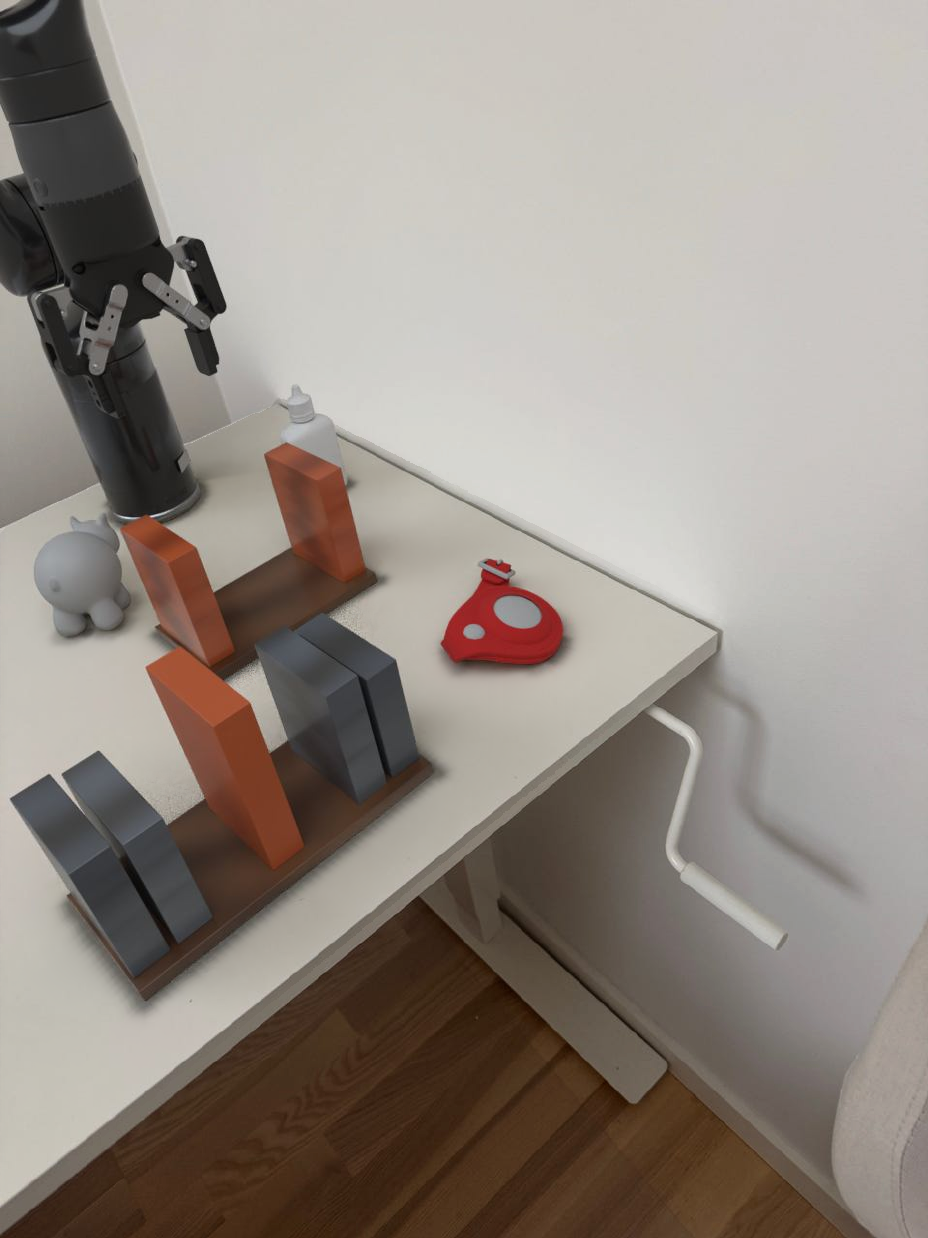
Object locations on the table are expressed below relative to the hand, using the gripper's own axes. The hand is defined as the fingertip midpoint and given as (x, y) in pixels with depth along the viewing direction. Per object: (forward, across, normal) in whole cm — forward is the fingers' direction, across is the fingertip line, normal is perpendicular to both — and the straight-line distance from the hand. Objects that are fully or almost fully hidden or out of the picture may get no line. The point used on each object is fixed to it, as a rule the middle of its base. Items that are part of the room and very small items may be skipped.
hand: (163, 393), depth 77 cm
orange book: (+18, +15, +27) cm, 36 cm away
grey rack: (+20, +15, +27) cm, 37 cm away
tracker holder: (+20, -11, +26) cm, 34 cm away
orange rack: (+19, 0, +6) cm, 20 cm away
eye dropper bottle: (+19, -15, -6) cm, 25 cm away
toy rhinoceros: (+19, +9, -8) cm, 22 cm away
